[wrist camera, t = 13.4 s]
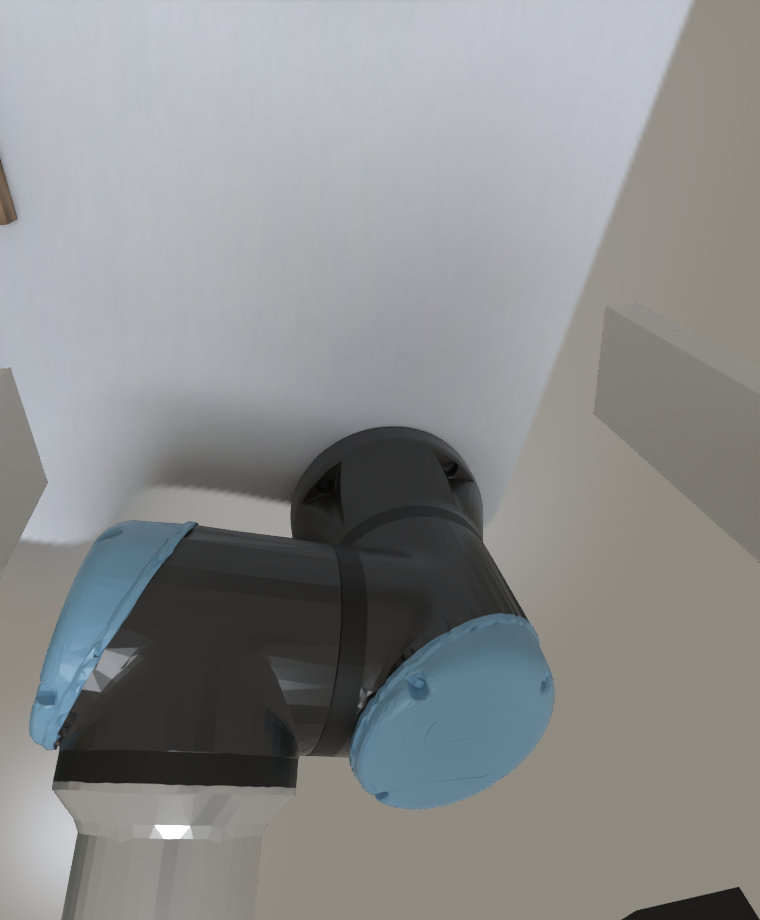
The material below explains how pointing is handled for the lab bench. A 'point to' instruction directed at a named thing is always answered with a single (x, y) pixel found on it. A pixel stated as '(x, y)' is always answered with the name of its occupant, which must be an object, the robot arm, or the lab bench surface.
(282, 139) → the lab bench surface
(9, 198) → the wooden square frame
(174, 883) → the robot arm
